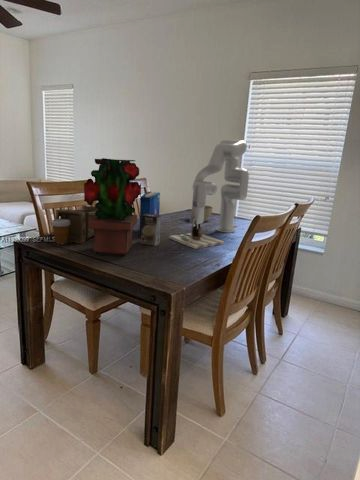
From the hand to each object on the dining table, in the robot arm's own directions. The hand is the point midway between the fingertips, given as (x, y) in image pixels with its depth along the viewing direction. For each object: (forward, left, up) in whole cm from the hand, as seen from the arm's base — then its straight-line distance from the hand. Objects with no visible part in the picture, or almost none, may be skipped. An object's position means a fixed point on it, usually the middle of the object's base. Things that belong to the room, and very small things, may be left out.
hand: (196, 235), depth 194 cm
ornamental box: (+51, -39, -4) cm, 64 cm away
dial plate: (0, 0, -4) cm, 4 cm away
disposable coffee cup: (+69, -29, -4) cm, 75 cm away
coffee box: (+27, -8, -4) cm, 28 cm away
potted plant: (+52, -3, -4) cm, 52 cm away
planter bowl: (-44, -45, -4) cm, 63 cm away
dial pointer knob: (+1, -3, -2) cm, 3 cm away
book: (+15, -28, -4) cm, 32 cm away
